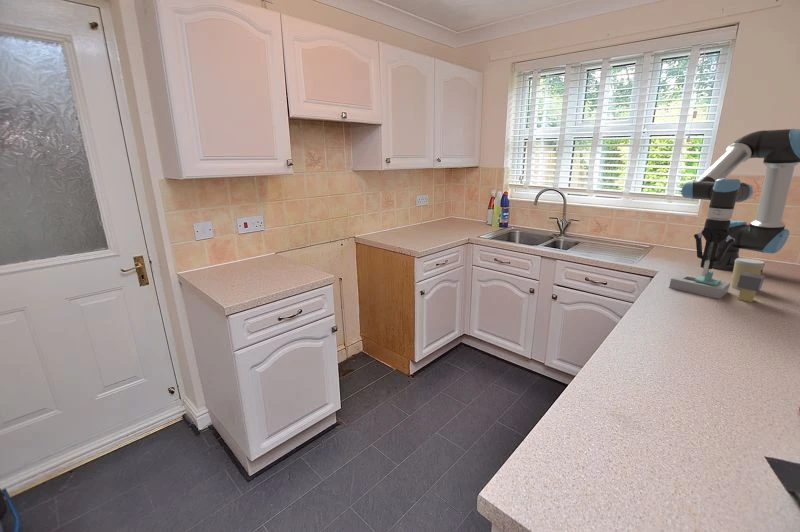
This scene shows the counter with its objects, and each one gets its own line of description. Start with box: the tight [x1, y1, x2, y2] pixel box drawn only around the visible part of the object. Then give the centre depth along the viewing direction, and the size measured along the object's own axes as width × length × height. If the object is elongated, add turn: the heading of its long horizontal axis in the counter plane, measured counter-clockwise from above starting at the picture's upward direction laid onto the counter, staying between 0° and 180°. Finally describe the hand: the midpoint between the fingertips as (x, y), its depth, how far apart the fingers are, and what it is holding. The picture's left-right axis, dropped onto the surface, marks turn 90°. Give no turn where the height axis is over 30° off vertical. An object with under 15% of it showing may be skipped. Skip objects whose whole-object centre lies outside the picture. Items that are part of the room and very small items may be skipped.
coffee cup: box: [730, 257, 766, 291], centre depth 156 cm, size 9×9×12 cm
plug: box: [737, 272, 766, 303], centre depth 143 cm, size 6×6×10 cm
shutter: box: [695, 270, 722, 285], centre depth 152 cm, size 7×7×4 cm
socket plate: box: [668, 272, 731, 300], centre depth 155 cm, size 12×17×4 cm
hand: (704, 275), depth 153 cm, fingers closed
